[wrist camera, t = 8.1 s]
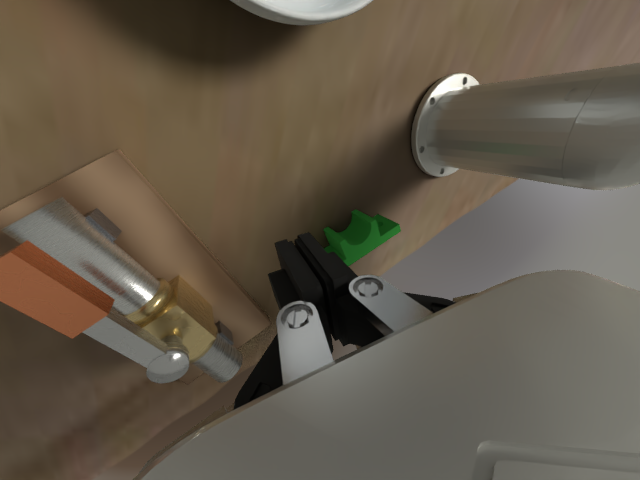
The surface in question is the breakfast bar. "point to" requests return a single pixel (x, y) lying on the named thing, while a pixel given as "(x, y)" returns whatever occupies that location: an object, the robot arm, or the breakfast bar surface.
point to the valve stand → (148, 239)
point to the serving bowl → (302, 10)
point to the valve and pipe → (131, 283)
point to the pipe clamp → (360, 236)
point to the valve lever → (83, 311)
